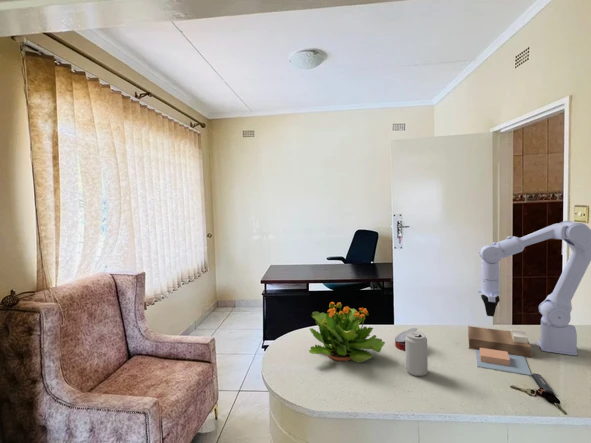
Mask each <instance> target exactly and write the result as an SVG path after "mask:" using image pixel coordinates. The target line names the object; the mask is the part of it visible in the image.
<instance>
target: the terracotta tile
mask: <svg viewBox="0 0 591 443" xmlns="http://www.w3.org/2000/svg"><path fill="white" fill-rule="evenodd" d="M509 355H510V354H509ZM509 355H508V352H506V351H499V350H493V349H486V348H480V361H481V362H487V363H493V364H499V365H506V366H510V358H509Z"/></svg>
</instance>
